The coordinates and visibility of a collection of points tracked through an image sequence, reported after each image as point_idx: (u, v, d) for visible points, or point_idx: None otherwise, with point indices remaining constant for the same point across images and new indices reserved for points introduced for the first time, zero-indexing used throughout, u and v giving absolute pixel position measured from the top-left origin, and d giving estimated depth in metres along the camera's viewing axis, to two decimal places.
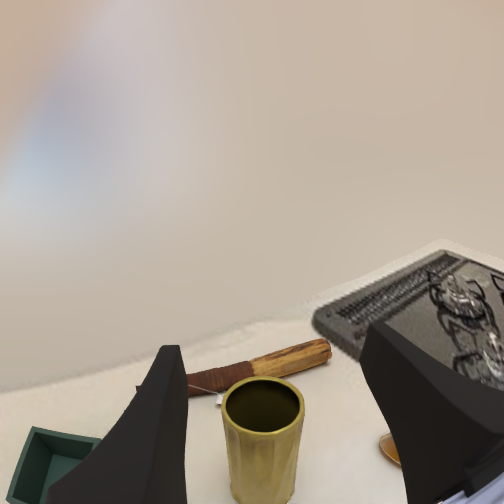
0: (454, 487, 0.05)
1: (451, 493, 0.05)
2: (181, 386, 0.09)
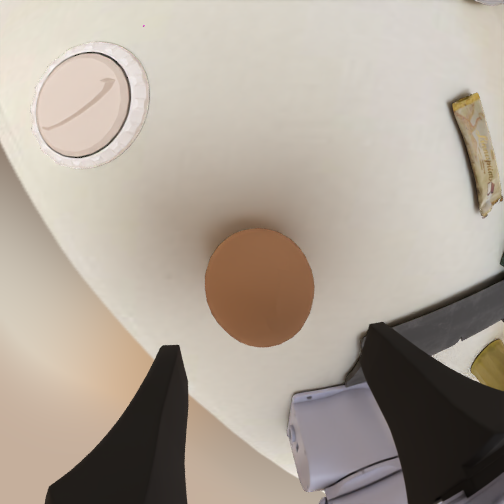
0: (454, 486, 0.05)
1: (451, 493, 0.05)
2: (181, 386, 0.09)
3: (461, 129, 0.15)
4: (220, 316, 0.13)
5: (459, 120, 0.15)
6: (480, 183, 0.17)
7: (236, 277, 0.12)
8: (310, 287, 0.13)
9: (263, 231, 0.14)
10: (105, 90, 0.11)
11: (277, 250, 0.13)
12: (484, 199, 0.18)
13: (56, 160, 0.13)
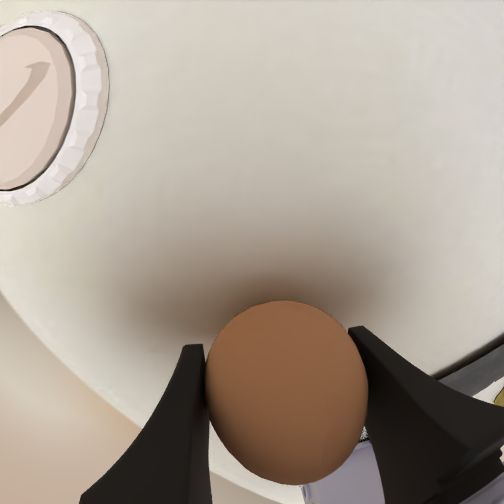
0: (431, 499, 0.05)
1: None
2: None
3: None
4: (230, 450, 0.07)
5: None
6: None
7: (256, 410, 0.07)
8: (366, 402, 0.08)
9: (296, 315, 0.09)
10: (35, 82, 0.06)
11: (324, 358, 0.07)
12: None
13: None
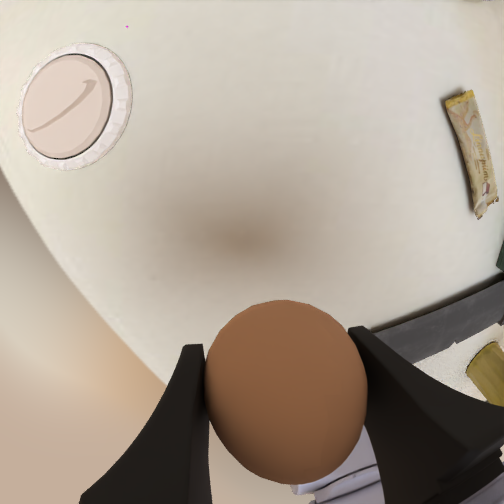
0: (431, 499, 0.05)
1: None
2: None
3: (455, 127, 0.15)
4: (230, 450, 0.07)
5: (452, 118, 0.15)
6: (475, 183, 0.17)
7: (256, 410, 0.07)
8: (366, 402, 0.08)
9: (296, 315, 0.09)
10: (87, 91, 0.11)
11: (323, 357, 0.07)
12: (479, 200, 0.17)
13: (41, 162, 0.13)
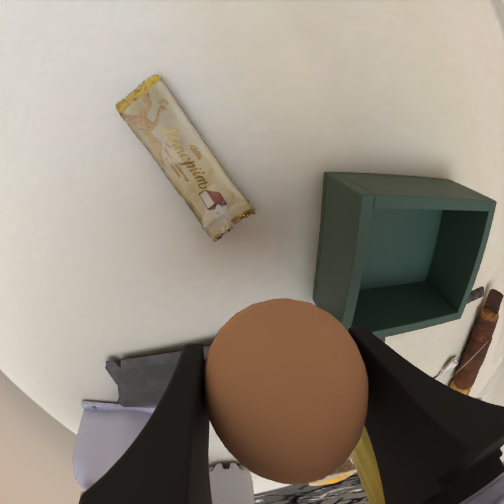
0: (431, 499, 0.05)
1: None
2: None
3: (135, 132, 0.14)
4: (230, 449, 0.07)
5: (128, 122, 0.14)
6: (185, 195, 0.16)
7: (256, 409, 0.07)
8: (367, 401, 0.08)
9: (296, 313, 0.09)
10: None
11: (324, 356, 0.07)
12: (205, 215, 0.16)
13: None
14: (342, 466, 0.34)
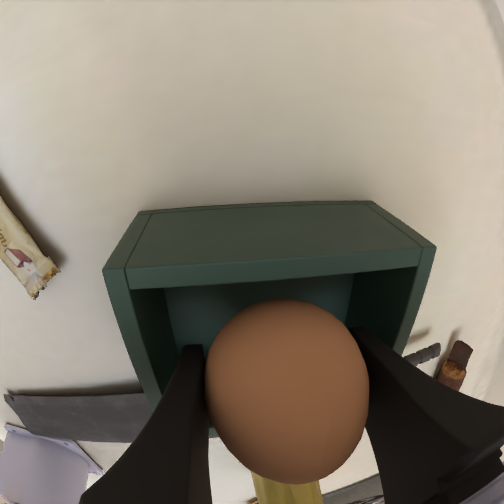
0: (431, 499, 0.05)
1: None
2: None
3: None
4: (230, 449, 0.07)
5: None
6: None
7: (257, 408, 0.07)
8: (368, 400, 0.08)
9: (297, 313, 0.09)
10: None
11: (325, 355, 0.07)
12: (18, 273, 0.11)
13: None
14: None
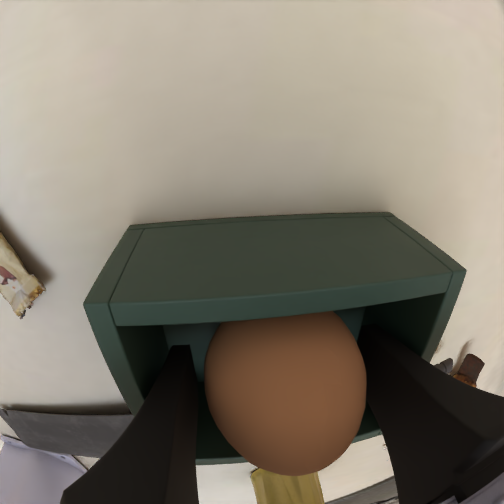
0: (445, 491, 0.05)
1: (442, 498, 0.05)
2: (192, 386, 0.09)
3: None
4: (230, 440, 0.07)
5: None
6: None
7: (256, 399, 0.07)
8: (365, 393, 0.08)
9: None
10: None
11: (322, 347, 0.08)
12: (3, 290, 0.10)
13: None
14: None
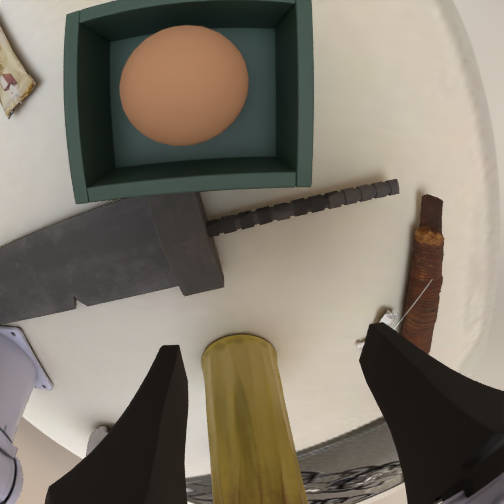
0: (454, 486, 0.05)
1: (451, 493, 0.05)
2: (181, 386, 0.09)
3: None
4: (124, 87, 0.09)
5: None
6: None
7: (145, 41, 0.08)
8: (236, 57, 0.09)
9: None
10: None
11: (198, 26, 0.09)
12: (3, 97, 0.11)
13: None
14: None
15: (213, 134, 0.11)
